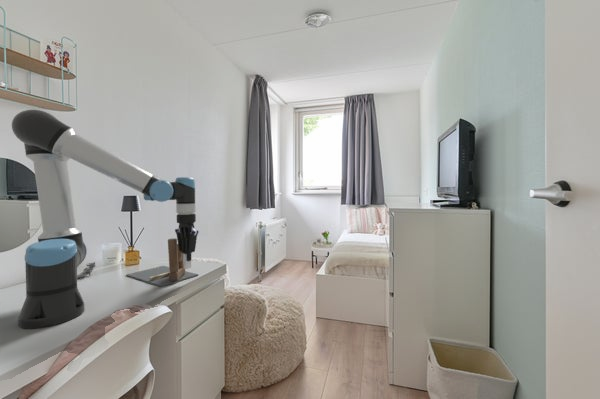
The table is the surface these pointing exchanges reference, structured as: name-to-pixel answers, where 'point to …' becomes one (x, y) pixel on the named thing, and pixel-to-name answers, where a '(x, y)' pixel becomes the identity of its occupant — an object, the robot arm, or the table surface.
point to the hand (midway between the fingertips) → (187, 268)
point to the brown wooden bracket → (175, 260)
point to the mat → (151, 272)
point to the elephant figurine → (87, 270)
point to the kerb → (159, 276)
